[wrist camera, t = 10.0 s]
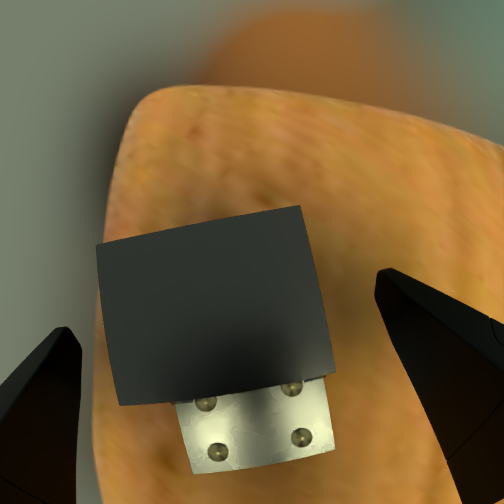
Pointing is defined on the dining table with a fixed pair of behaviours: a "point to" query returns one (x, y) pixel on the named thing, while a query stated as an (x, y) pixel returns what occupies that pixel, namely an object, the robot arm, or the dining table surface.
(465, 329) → the robot arm
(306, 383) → the fixed hinge leaf
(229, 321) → the dark grey block
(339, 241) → the dining table surface
